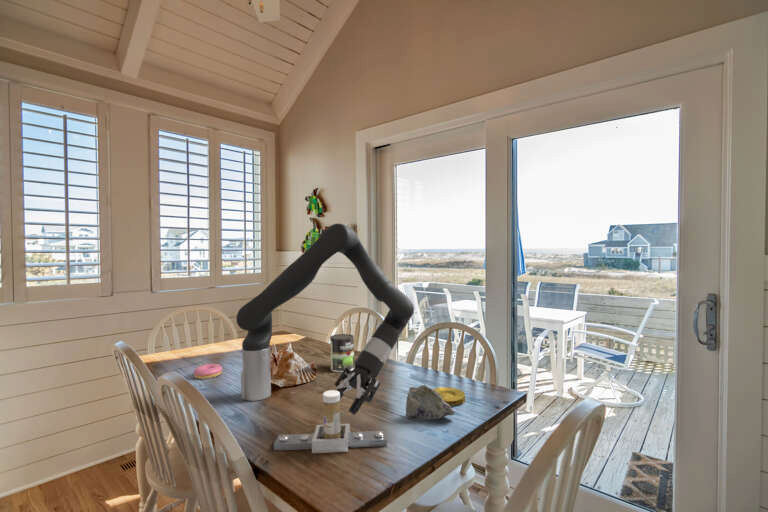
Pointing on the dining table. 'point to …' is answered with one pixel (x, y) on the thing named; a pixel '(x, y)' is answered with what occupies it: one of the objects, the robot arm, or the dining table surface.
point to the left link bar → (293, 442)
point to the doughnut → (208, 371)
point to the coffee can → (342, 352)
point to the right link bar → (367, 439)
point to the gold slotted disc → (451, 395)
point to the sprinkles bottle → (331, 414)
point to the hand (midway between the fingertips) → (342, 408)
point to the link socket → (330, 440)
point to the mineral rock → (426, 404)
